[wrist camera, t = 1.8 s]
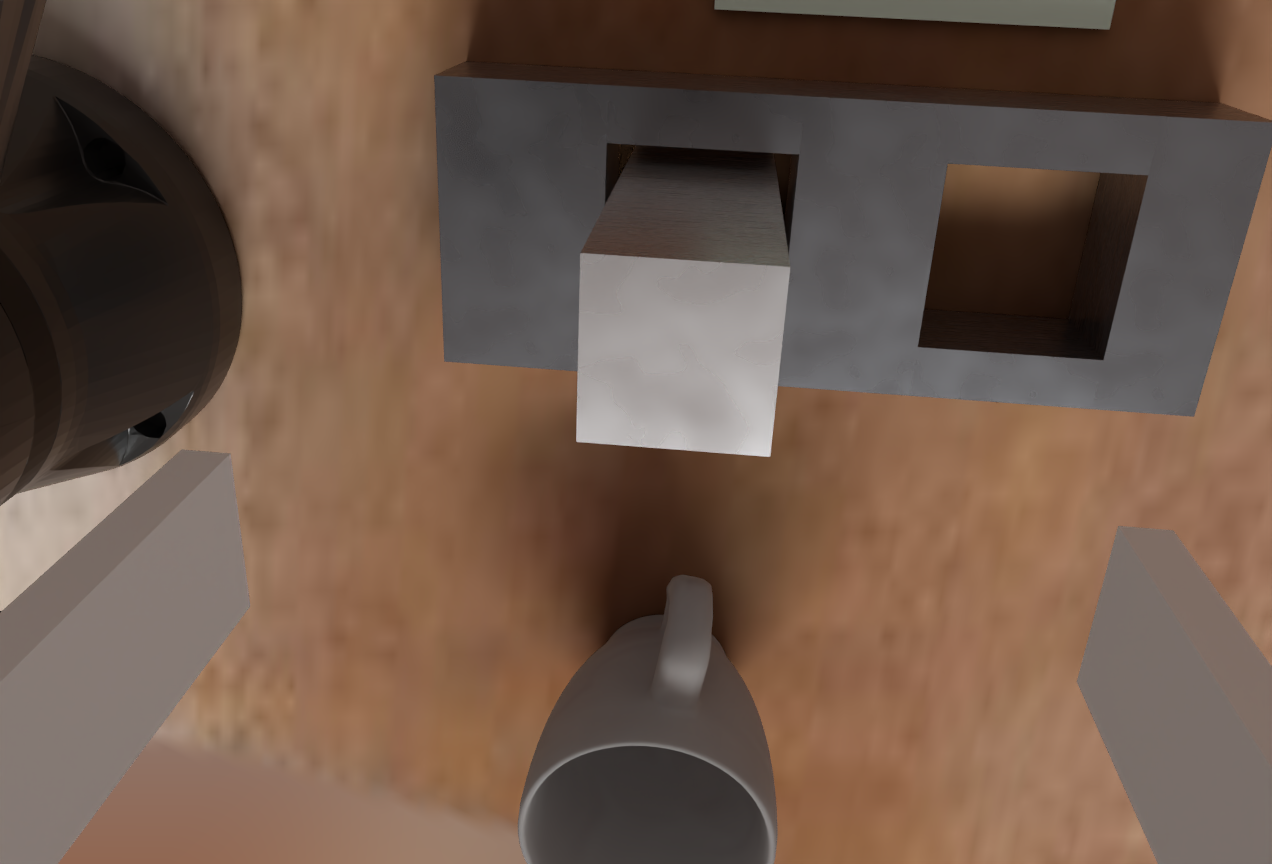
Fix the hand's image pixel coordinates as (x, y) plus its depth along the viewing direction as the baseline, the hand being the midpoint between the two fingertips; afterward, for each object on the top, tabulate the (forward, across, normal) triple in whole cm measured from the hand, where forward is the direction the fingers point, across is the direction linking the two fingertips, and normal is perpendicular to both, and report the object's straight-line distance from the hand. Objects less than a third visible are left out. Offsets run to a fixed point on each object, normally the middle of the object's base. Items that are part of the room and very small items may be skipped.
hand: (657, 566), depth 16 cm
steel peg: (+23, 0, 0) cm, 23 cm away
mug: (+23, 0, -17) cm, 29 cm away
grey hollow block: (+23, +4, 0) cm, 23 cm away
